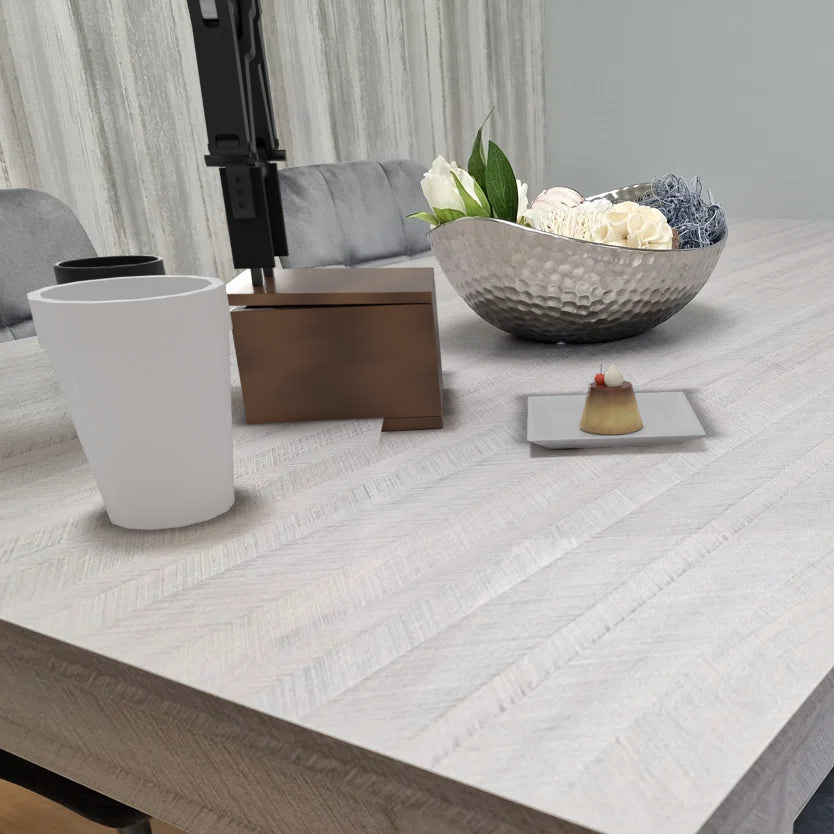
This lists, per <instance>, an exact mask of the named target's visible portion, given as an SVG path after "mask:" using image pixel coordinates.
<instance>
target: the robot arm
mask: <svg viewBox="0 0 834 834" xmlns="http://www.w3.org/2000/svg"><path fill="white" fill-rule="evenodd" d="M185 2H186V5H187V10H188V14H189V20H190V24H191V30H192V32H191V33H192V37H193V38H192V39H193V45H194V52H195V60H196V67H197V73H198V80H199V87H200V93H201V101H202V108H203V115H204V123H205V130H206V137H207V150H208V152H209V154H203V159H204V163H205V166H206V168H218V172H219V178H220V185H221V191H222V198H223V199H222V200H223V204H224V209H225V210H224V211H225V217H226V224H227V231H228V237H229V245H230V249H231V250H230V251H231V256H232V258H231V259H232V263H233V269H234V270H247V269H257V268H262V269H263V268H273V269H276V267H277V265H276V258H277V257H289V256H290V253H289V245H288V238H287V230H286V222H285V216H284V208H283V199H282V191H281V184H280V177H279V170H278V169H279V168H278V163H277V162H287V149H280V140H279V138H278V133H277V127H276V119H275V112H274V104H273V97H272V91H271V84H270V76H269V69H268V63H267V55H266V46H265V39H264V29H263V20H262V19H263V18H262V17H263V16H262V15H263V7H262V2H261V0H185ZM258 157H261V158H262V159H264V160H265V161H266V162H267V164H268V166H269V170H270V172H269V176H268V178H267V179H266V180H265V181H264V177H263V170H262V167H257V161H258ZM275 257H276V258H275Z"/></svg>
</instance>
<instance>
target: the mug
mask: <svg viewBox="0 0 834 834" xmlns="http://www.w3.org/2000/svg"><path fill="white" fill-rule="evenodd" d="M52 268H53V273H54V276H55V281H56V285H61V284H67V283H72V282H78V281H88V280H97V279H107V278H117V277H135V276H154V275H167V273H166V268H165V262H164V259H163V257H161V256H157V255H148V254H147V255H146V254H144V255H143V254H119V255H118V254H117V255H102V256H91V257H90V256H89V257H80V258H74V259H68V260H62V261H59V262H56V263H54V264H53V267H52Z"/></svg>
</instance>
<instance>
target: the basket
mask: <svg viewBox="0 0 834 834" xmlns="http://www.w3.org/2000/svg"><path fill="white" fill-rule="evenodd" d="M437 303H438V302H437V292H436V279H435V278H434V288H433V301H432V303H390V304H324V305H258V306H233V308H231V309H230V315H231V321H232V327H233V329H231V334H232V340H233V345H234V346H233V347H234V351H235V359H236V364H237V369H238V376H239V382H240V388H241V389H240V390H241V394H242V401H243V407H244V413H245V420H246V424H247V425H257V424H275V423H277V424H279V423H294V422H295V423H296V422H297V423H298V422H315V421H317V422H318V421H335V420H354V419H355V420H357V419H374V418H375V419H376V418H383V420H382V425H381V430H380V431H381V432H390V431H410V430H411V431H412V430H429V429H443V428H444V378H443V366H442V353H441V341H440V340H441V339H440V329H439V317H438V316H439V315H438V304H437Z"/></svg>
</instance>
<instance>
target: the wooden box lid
mask: <svg viewBox="0 0 834 834" xmlns="http://www.w3.org/2000/svg"><path fill="white" fill-rule="evenodd" d="M257 167H262V170H263V177H264V181H265V180H266V179H267V178H268V176H269V172H270V170H269V166H268V164H267V162H266V161H265V160H264V159H262V158H261V157H258V161H257ZM434 279H435V268H434V267H432V266H431V267H430V266H429V267H426V266H425V267H424V266H422V267H419V266H418V267H346V268H345V267H338V268H336V267H333V268H327V267H326V268H257V269H244V271H243V272H242V273H240V274H239V275H238V276H237V277H235V278H234V279H232V280H231V281H230V282H229V283H227V284H226V290H227V297H228V303H229V307H235V306H258V305H324V304H390V303H432V301H433V288H434Z"/></svg>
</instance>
